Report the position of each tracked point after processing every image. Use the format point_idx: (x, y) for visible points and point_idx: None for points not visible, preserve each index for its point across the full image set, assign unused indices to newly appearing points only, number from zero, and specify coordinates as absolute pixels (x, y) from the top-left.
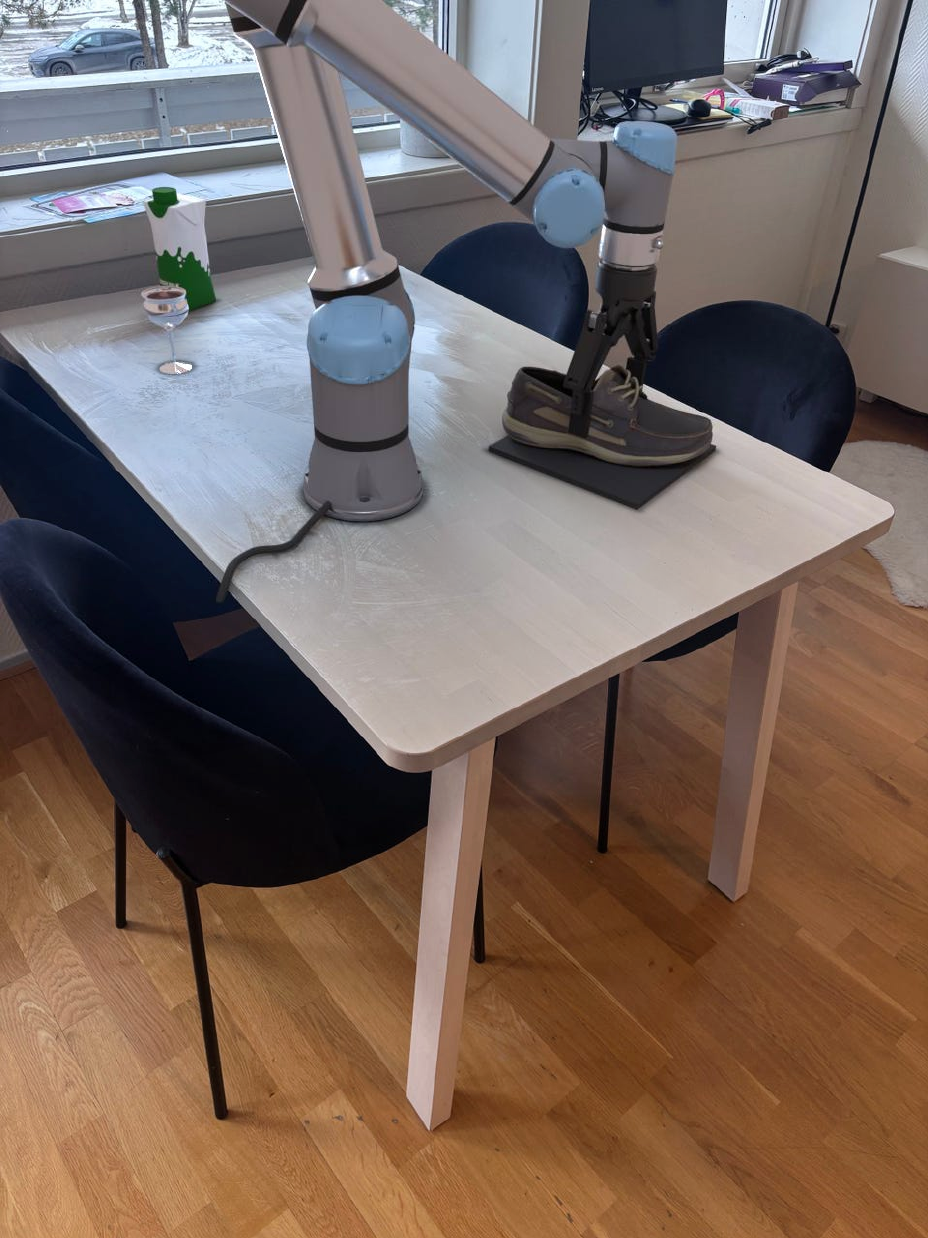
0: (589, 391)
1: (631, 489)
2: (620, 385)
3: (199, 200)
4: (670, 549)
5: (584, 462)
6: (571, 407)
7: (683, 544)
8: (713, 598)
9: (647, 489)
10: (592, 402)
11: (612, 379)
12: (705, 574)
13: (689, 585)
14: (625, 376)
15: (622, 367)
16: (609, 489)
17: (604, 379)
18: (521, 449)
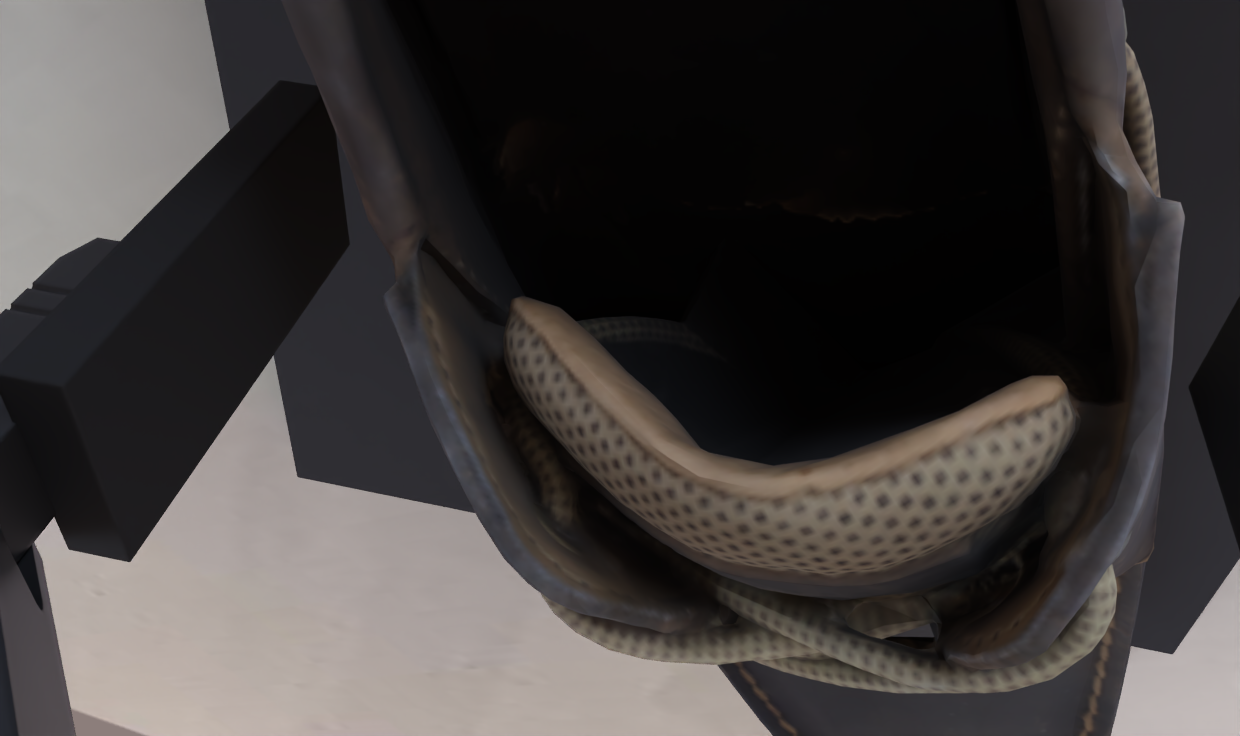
0: (71, 531)
1: (388, 426)
2: (650, 627)
3: None
4: (180, 594)
5: None
6: (43, 278)
7: (244, 620)
8: (85, 704)
9: (450, 481)
10: (190, 463)
11: (710, 562)
12: (160, 681)
13: (73, 656)
14: (1007, 599)
15: (1010, 660)
16: (304, 341)
17: (637, 502)
18: None
